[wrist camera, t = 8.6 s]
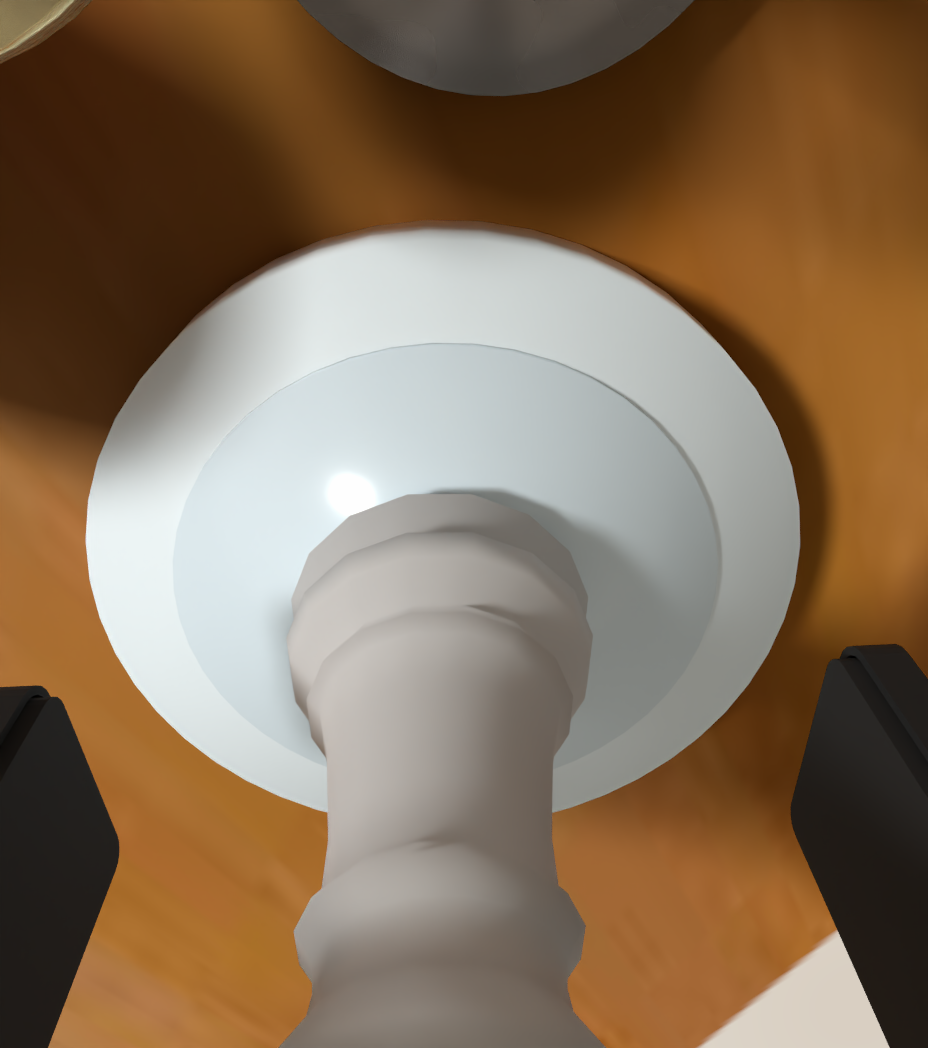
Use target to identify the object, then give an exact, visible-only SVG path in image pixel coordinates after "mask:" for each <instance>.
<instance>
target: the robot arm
mask: <svg viewBox="0 0 928 1048" xmlns="http://www.w3.org/2000/svg"><path fill="white" fill-rule="evenodd" d="M791 820H792V825H793V829H794V832H795V835H796V838H797V840H798V842H799V844H800V847H801V849H802V851H803V853H804V856H805V858H806V860H807V862H808V865H809V867H810V869H811V871H812V874H813V876H814V878H815V880H816V883H817V885H818V887H819V889H820V892H821V894H822V896H823V898H824V901H825V903H826V905H827V907H828V910H829V912H830V914H831V916H832V919H833V921H834V923H835V925H836V928H837V930H838V932H839V934H840V937H841V939H842V941H843V943H844V946H845V948H846V950H847V952H848V955H849V957H850V959H851V961H852V964H853V966H854V968H855V970H856V972H857V975H858V977H859V979H860V982H861V984H862V986H863V988H864V991H865V993H866V995H867V997H868V1000H869V1002H870V1004H871V1006H872V1009H873V1011H874V1013H875V1015H876V1018H877V1020H878V1022H879V1024H880V1027H881V1029H882V1031H883V1033H884V1036H885V1038H886V1040H887V1042H888V1045H889V1047H890V1048H928V679H927V678H926V676H925V675H924V674H923V672H922V671H921V670H920V668H919V667H918V666H917V664H916V663H915V662H914V660H913V659H912V658H911V656H910V655H909V654H908V653H907V652H906V651H905V650H904V649H903V648H902V647H901V646H899V645H897V644H887V645H866V646H850V647H846V648H845V649H844V650H843V652H842V654H841V657H840V659H832V660H831V661H830V662H829V664H828V666H827V669H826V673H825V677H824V681H823V684H822V688H821V692H820V696H819V700H818V703H817V707H816V711H815V715H814V719H813V723H812V726H811V730H810V734H809V738H808V742H807V745H806V749H805V753H804V757H803V761H802V764H801V768H800V772H799V776H798V780H797V784H796V787H795V791H794V795H793V799H792V803H791ZM118 858H119V840H118V836H117V834H116V831H115V829H114V826H113V824H112V821H111V819H110V817H109V814H108V812H107V809H106V807H105V804H104V802H103V799H102V797H101V795H100V792H99V790H98V787H97V785H96V782H95V780H94V777H93V775H92V773H91V770H90V768H89V765H88V763H87V760H86V758H85V755H84V753H83V751H82V748H81V746H80V743H79V741H78V738H77V736H76V733H75V731H74V729H73V726H72V724H71V721H70V719H69V716H68V714H67V711H66V709H65V706H64V704H63V703H62V701H61V700H60V699H59V698H58V697H50V695H49V693H48V692H47V690H46V689H45V688H43V687H42V686H18V687H0V1048H48V1046H49V1043H50V1041H51V1038H52V1035H53V1033H54V1030H55V1028H56V1025H57V1022H58V1020H59V1017H60V1014H61V1012H62V1009H63V1007H64V1004H65V1001H66V999H67V996H68V993H69V991H70V988H71V986H72V983H73V980H74V978H75V975H76V973H77V970H78V967H79V965H80V962H81V959H82V957H83V954H84V952H85V949H86V946H87V944H88V941H89V939H90V936H91V933H92V931H93V928H94V925H95V923H96V920H97V918H98V915H99V912H100V910H101V907H102V904H103V902H104V899H105V897H106V894H107V891H108V889H109V886H110V884H111V881H112V878H113V876H114V873H115V870H116V867H117V864H118Z"/></svg>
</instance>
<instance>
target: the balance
mask: <svg viewBox="0 0 928 1048" xmlns="http://www.w3.org/2000/svg"><path fill="white" fill-rule="evenodd" d="M91 1H92V0H0V64H2V63H4V62H6V61H8V60H10V59H12V58H14V57H16V56H18V55H20V54H22V53H24V52H26V51H28V50H30V49H32V48H34V47H36V46H38V45H39V44H40V43H42V42H43V41H44V40H46V39H47V38H48V37H50V36H51V35H53V34H54V33H55V32H57V31H58V30H59V29H61V28H62V27H64V26H65V25H66V24H68V23H69V22H70V21H72V20H73V19H74V18H76V17H77V16H78V15H79V13H80V12H81V11H82V10H83V9H84V8H85V7H86V6H87V5H88V4H89V3H90V2H91ZM297 1H298V2H299V3H300V4H301V5H302V6H303V7H304V8H305V10H306V11H307V12H308V13H309V14H310V15H311V16H312V17H313V18H315V19H316V20H317V21H318V22H319V23H320V24H321V25H322V26H324V27H325V28H326V29H327V30H328V31H329V32H330V33H332V34H333V35H334V36H335V37H336V38H337V39H338V40H340V41H341V42H342V43H344V44H345V45H347V46H348V47H350V48H351V49H353V50H354V51H356V52H357V53H359V54H360V55H362V56H363V57H365V58H366V59H367V60H369V61H370V62H372V63H374V64H376V65H378V66H380V67H382V68H384V69H386V70H388V71H390V72H392V73H394V74H396V75H398V76H400V77H402V78H405V79H408V80H411V81H414V82H417V83H420V84H423V85H426V86H429V87H432V88H435V89H439V90H445V91H450V92H456V93H461V94H467V95H482V96H510V95H519V94H527V93H536V92H541V91H545V90H549V89H552V88H556V87H560V86H563V85H567V84H571V83H574V82H576V81H579V80H581V79H583V78H586V77H588V76H590V75H593V74H595V73H597V72H600V71H602V70H604V69H607V68H608V67H610V66H612V65H613V64H615V63H617V62H618V61H620V60H622V59H623V58H625V57H627V56H628V55H630V54H632V53H633V52H635V51H637V50H638V49H640V48H641V47H642V46H644V45H645V44H646V43H647V42H649V41H650V40H651V39H652V38H654V37H655V36H656V35H658V34H659V33H660V32H661V31H663V30H664V29H665V28H667V27H668V26H669V25H670V24H671V23H672V22H673V21H674V20H675V19H676V18H677V17H678V16H679V15H680V14H681V13H682V12H683V11H684V10H685V9H686V8H687V7H688V6H689V5H690V4H691V3H692V2H693V1H694V0H297Z"/></svg>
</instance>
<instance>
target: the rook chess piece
mask: <svg viewBox="0 0 928 1048" xmlns="http://www.w3.org/2000/svg"><path fill="white" fill-rule="evenodd" d="M291 602H292V610H293V617H294V620H293V622H292V625H291V627H290V630H289V632H288V635H287V637H286V640H287V647H288V655H289V662H290V669H291V677H292V684H293V690H294V696H295V702H296V704H297V705H298V706H299V708H300V709H301V711H302V712H303V714H304V715H305V716H306V718H307V719H308V721H309V724H310V732H311V738H312V739H313V741H314V742H315V743H316V745H317V746H318V748H319V749H320V750H321V752H322V753H323V755H324V756H325V757H326V761H327V796H328V847H327V854H326V861H325V868H324V875H323V883H322V889H321V890H320V891H319V892H317V893H316V894H315V895H314V896H313V897H312V898H311V899H310V901H309V903H308V905H307V907H306V909H305V911H304V912H303V914H302V916H301V918H300V920H299V922H298V924H297V926H296V928H295V930H294V936H295V942H296V948H297V953H298V959H299V965H300V966H301V967H302V969H303V970H304V972H305V973H306V975H307V976H308V978H309V979H310V980H311V982H312V997H311V1001H310V1005H309V1008H308V1012H307V1016H306V1017H305V1018H304V1019H303V1020H302V1022H301V1023H300V1024H299V1025H298V1026H297V1027H296V1028H295V1030H294V1031H293V1032H292V1033H291V1034H290V1035H289V1036H288V1037H287V1039H286V1040H285V1041H284V1042H283V1043H282V1044H281V1045H280V1047H279V1048H606V1047H605V1046H604V1045H603V1044H602V1043H601V1042H600V1041H599V1040H598V1039H597V1037H596V1036H595V1035H594V1034H593V1033H592V1032H591V1031H590V1030H589V1029H588V1027H587V1026H586V1025H585V1024H584V1023H583V1022H582V1021H581V1020H580V1019H579V1017H578V1016H577V1015H576V1014H575V1013H574V1012H573V1008H572V1004H571V1001H570V997H569V993H568V990H567V979H568V977H569V976H570V974H571V973H572V971H573V970H574V968H575V967H576V965H577V964H578V962H579V961H580V959H581V954H582V947H583V940H584V933H585V927H586V926H585V924H584V922H583V920H582V918H581V917H580V915H579V913H578V911H577V909H576V908H575V906H574V904H573V902H572V900H571V899H570V897H569V895H568V893H567V892H565V891H564V890H563V889H562V888H561V887H559V886H558V879H557V872H556V865H555V858H554V850H553V843H552V793H553V761H554V756H555V755H556V753H557V752H558V750H559V749H560V747H561V746H562V744H563V743H564V741H565V740H566V738H567V737H568V735H569V732H570V722H571V719H572V717H573V716H574V714H575V713H576V711H577V710H578V708H579V707H580V705H581V704H582V702H583V701H584V699H585V694H586V688H587V682H588V674H589V666H590V657H591V649H592V640H593V634H592V631H591V629H590V627H589V624H588V622H587V619H586V613H587V604H588V595H587V592H586V590H585V588H584V585H583V583H582V580H581V578H580V575H579V573H578V570H577V568H576V565H575V563H574V560H573V558H572V555H571V553H570V551H569V550H568V549H567V548H566V547H564V546H563V545H562V544H561V543H560V542H559V541H558V540H557V539H556V538H554V537H553V536H552V535H551V534H550V533H549V532H548V531H547V530H546V529H544V528H543V527H542V526H541V525H540V524H539V523H538V522H537V521H536V520H534V519H533V518H532V517H531V516H530V515H529V514H526V513H523V512H520V511H517V510H515V509H512V508H509V507H506V506H503V505H501V504H498V503H495V502H492V501H490V500H487V499H484V498H481V497H478V496H476V495H473V494H407V495H404V496H402V497H399V498H396V499H393V500H391V501H388V502H385V503H383V504H380V505H377V506H375V507H372V508H369V509H366V510H364V511H361V512H358V513H356V514H353V515H350V516H349V517H348V518H347V519H346V520H345V521H343V522H342V523H341V524H340V525H339V526H338V527H337V528H336V529H335V530H334V531H333V532H331V533H330V534H329V535H328V536H327V537H326V538H325V539H324V540H323V541H322V542H321V543H320V544H318V545H317V546H316V547H315V548H314V549H313V550H312V551H311V552H310V553H309V554H308V557H307V560H306V562H305V565H304V567H303V570H302V573H301V575H300V578H299V580H298V583H297V585H296V588H295V591H294V593H293V596H292V598H291Z"/></svg>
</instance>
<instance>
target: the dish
mask: <svg viewBox="0 0 928 1048" xmlns="http://www.w3.org/2000/svg"><path fill="white" fill-rule="evenodd" d="M407 494H473V495H476V496H478V497H481V498H484V499H487V500H490V501H492V502H495V503H498V504H501V505H503V506H506V507H509V508H512V509H515V510H517V511H520V512H523V513H526V514H529V515H530V516H531V517H532V518H533V519H534V520H536V521H537V522H538V523H539V524H540V525H541V526H542V527H543V528H544V529H546V530H547V531H548V532H549V533H550V534H551V535H552V536H553V537H554V538H556V539H557V540H558V541H559V542H560V543H561V544H562V545H563V546H564V547H566V548H567V549H568V550H569V551H570V553H571V555H572V558H573V560H574V563H575V565H576V568H577V570H578V573H579V575H580V578H581V580H582V583H583V585H584V588H585V590H586V592H587V595H588V604H587V613H586V619H587V622H588V624H589V627H590V629H591V631H592V634H593V640H592V649H591V657H590V666H589V674H588V682H587V688H586V694H585V699H584V701H583V702H582V704H581V705H580V707H579V708H578V710H577V711H576V713H575V714H574V716H573V717H572V719H571V722H570V732H569V735H568V737H567V738H566V740H565V741H564V743H563V744H562V746H561V747H560V749H559V750H558V752H557V753H556V755H555V756H554V761H553V793H552V813H553V812H557V811H560V810H564V809H568V808H571V807H574V806H577V805H579V804H582V803H585V802H587V801H590V800H593V799H595V798H598V797H601V796H603V795H606V794H608V793H610V792H612V791H614V790H616V789H618V788H620V787H622V786H625V785H627V784H629V783H631V782H633V781H635V780H637V779H639V778H641V777H642V776H644V775H646V774H647V773H649V772H650V771H652V770H654V769H655V768H657V767H659V766H660V765H662V764H664V763H665V762H667V761H668V760H670V759H671V758H673V757H674V756H675V755H677V754H678V753H679V752H681V751H682V750H683V749H684V748H686V747H687V746H688V745H690V744H691V743H692V742H694V741H695V740H696V739H698V738H699V737H700V736H701V735H702V734H703V733H704V732H705V731H706V730H707V729H708V728H709V727H711V726H712V725H713V724H714V723H715V722H716V721H717V720H718V719H719V718H720V717H721V716H722V715H723V714H724V713H725V712H726V711H727V710H728V709H729V707H730V706H731V705H732V704H733V703H734V701H735V700H736V699H737V698H738V697H739V695H740V694H741V693H742V692H743V691H744V689H745V688H746V687H747V686H748V685H749V683H750V682H751V680H752V678H753V677H754V675H755V674H756V672H757V671H758V669H759V667H760V666H761V664H762V663H763V661H764V660H765V658H766V656H767V655H768V653H769V651H770V649H771V647H772V645H773V643H774V640H775V638H776V636H777V634H778V632H779V630H780V628H781V625H782V623H783V621H784V619H785V615H786V612H787V608H788V605H789V602H790V598H791V595H792V592H793V588H794V585H795V579H796V572H797V565H798V558H799V551H800V514H799V502H798V497H797V491H796V486H795V481H794V475H793V470H792V466H791V463H790V460H789V458H788V455H787V452H786V449H785V447H784V444H783V441H782V438H781V436H780V433H779V430H778V427H777V426H776V424H775V422H774V420H773V418H772V417H771V415H770V413H769V411H768V410H767V408H766V406H765V404H764V403H763V401H762V399H761V397H760V396H759V394H758V392H757V390H756V389H755V387H754V386H753V385H752V384H751V382H750V381H749V380H748V379H747V377H746V376H745V375H744V374H743V372H742V371H741V370H740V369H739V367H738V366H737V365H736V364H735V362H734V361H733V360H732V359H731V357H730V356H729V355H728V354H727V352H726V351H725V350H724V349H723V348H722V347H721V346H720V345H719V343H718V342H717V341H716V340H715V339H714V338H713V337H712V336H711V334H710V333H709V332H708V331H707V330H706V329H705V328H704V327H703V326H702V324H701V323H700V322H698V321H697V320H696V319H695V318H694V317H693V316H692V315H691V314H690V313H689V312H687V311H686V310H685V309H684V308H683V307H682V306H681V305H680V304H679V303H678V302H676V301H675V300H674V299H673V298H672V297H671V296H670V295H669V294H668V293H666V292H665V291H663V290H662V289H660V288H659V287H657V286H656V285H654V284H653V283H651V282H650V281H648V280H647V279H645V278H644V277H642V276H641V275H639V274H638V273H636V272H635V271H633V270H632V269H630V268H629V267H627V266H626V265H623V264H621V263H619V262H617V261H615V260H613V259H611V258H609V257H607V256H604V255H602V254H600V253H598V252H596V251H594V250H592V249H590V248H587V247H585V246H583V245H581V244H578V243H574V242H571V241H568V240H565V239H561V238H558V237H555V236H552V235H549V234H545V233H542V232H539V231H536V230H532V229H526V228H520V227H514V226H508V225H502V224H495V223H489V222H483V221H456V220H421V221H412V222H404V223H395V224H386V225H378V226H372V227H368V228H364V229H360V230H356V231H353V232H349V233H345V234H341V235H337V236H333V237H329V238H326V239H322V240H320V241H317V242H315V243H313V244H310V245H308V246H305V247H303V248H301V249H298V250H296V251H293V252H291V253H289V254H286V255H284V256H281V257H279V258H277V259H275V260H273V261H271V262H270V263H268V264H266V265H265V266H263V267H261V268H260V269H258V270H256V271H255V272H253V273H251V274H250V275H248V276H246V277H245V278H243V279H241V280H240V281H238V282H236V283H235V284H233V285H232V286H231V287H229V288H228V289H227V290H226V291H225V292H223V293H222V294H221V295H220V296H218V297H217V298H216V299H215V300H214V301H212V302H211V303H210V304H209V305H207V306H206V307H205V308H204V309H203V310H201V311H200V312H199V313H198V314H197V315H196V316H195V317H194V318H193V319H192V320H191V321H190V322H189V324H188V325H187V326H186V327H185V328H184V329H183V330H182V331H181V332H180V334H179V335H178V336H177V337H176V338H175V339H174V340H173V341H172V343H171V344H170V345H169V346H168V347H167V348H166V349H165V351H164V352H163V353H162V354H161V355H160V356H159V358H158V359H157V360H156V361H155V362H154V364H153V365H152V366H151V367H150V368H149V369H148V371H147V372H146V373H145V374H144V375H143V377H142V378H141V379H140V380H139V382H138V383H137V385H136V387H135V388H134V390H133V391H132V393H131V394H130V396H129V398H128V399H127V401H126V402H125V404H124V405H123V407H122V409H121V410H120V412H119V413H118V415H117V416H116V418H115V420H114V422H113V425H112V427H111V430H110V432H109V434H108V437H107V439H106V441H105V444H104V446H103V448H102V451H101V453H100V456H99V458H98V461H97V465H96V470H95V474H94V478H93V482H92V487H91V491H90V495H89V499H88V512H87V528H86V549H87V558H88V568H89V578H90V583H91V587H92V590H93V594H94V598H95V602H96V606H97V609H98V613H99V617H100V619H101V621H102V624H103V626H104V628H105V631H106V633H107V635H108V638H109V640H110V642H111V644H112V647H113V649H114V651H115V653H116V655H117V656H118V658H119V660H120V661H121V663H122V665H123V666H124V668H125V669H126V671H127V673H128V674H129V676H130V678H131V679H132V681H133V682H134V684H135V685H136V686H137V688H138V689H139V690H140V691H141V693H142V694H143V695H144V696H145V697H146V699H147V700H148V701H149V702H150V704H151V705H152V706H153V707H154V709H155V710H156V711H157V712H158V713H159V714H160V715H161V716H162V717H163V718H164V719H165V720H166V721H167V722H168V723H169V724H170V725H171V726H172V727H173V728H174V729H175V730H176V731H177V732H178V733H179V734H181V735H182V736H183V737H184V738H185V739H186V740H187V741H189V742H190V743H191V744H193V745H194V746H195V747H196V748H198V749H199V750H200V751H202V752H203V753H204V754H206V755H207V756H208V757H210V758H211V759H212V760H214V761H215V762H217V763H218V764H220V765H222V766H223V767H225V768H227V769H228V770H230V771H231V772H233V773H235V774H236V775H238V776H240V777H241V778H243V779H245V780H246V781H249V782H251V783H253V784H255V785H257V786H259V787H261V788H263V789H265V790H267V791H270V792H272V793H274V794H276V795H278V796H280V797H283V798H286V799H288V800H291V801H294V802H297V803H300V804H302V805H305V806H308V807H311V808H313V809H317V810H320V811H324V812H328V796H327V761H326V757H325V756H324V755H323V753H322V752H321V750H320V749H319V748H318V746H317V745H316V743H315V742H314V741H313V739H312V738H311V732H310V724H309V721H308V719H307V718H306V716H305V715H304V714H303V712H302V711H301V709H300V708H299V706H298V705H297V704H296V702H295V696H294V690H293V684H292V677H291V669H290V662H289V655H288V647H287V640H286V637H287V635H288V632H289V630H290V627H291V625H292V622H293V620H294V617H293V610H292V602H291V598H292V596H293V593H294V591H295V588H296V585H297V583H298V580H299V578H300V575H301V573H302V570H303V567H304V565H305V562H306V560H307V557H308V554H309V553H310V552H311V551H312V550H313V549H314V548H315V547H316V546H317V545H318V544H320V543H321V542H322V541H323V540H324V539H325V538H326V537H327V536H328V535H329V534H330V533H331V532H333V531H334V530H335V529H336V528H337V527H338V526H339V525H340V524H341V523H342V522H343V521H345V520H346V519H347V518H348V517H349V516H350V515H353V514H356V513H358V512H361V511H364V510H366V509H369V508H372V507H375V506H377V505H380V504H383V503H385V502H388V501H391V500H393V499H396V498H399V497H402V496H404V495H407Z"/></svg>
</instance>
